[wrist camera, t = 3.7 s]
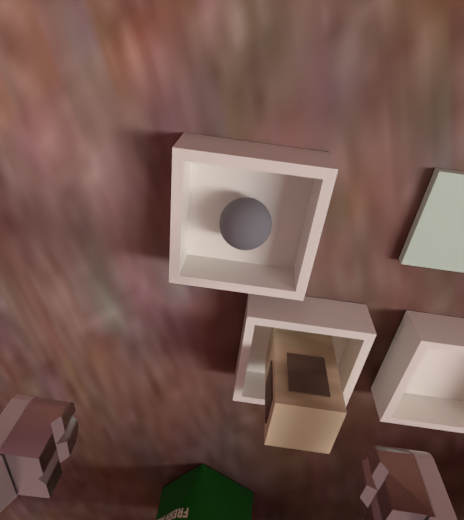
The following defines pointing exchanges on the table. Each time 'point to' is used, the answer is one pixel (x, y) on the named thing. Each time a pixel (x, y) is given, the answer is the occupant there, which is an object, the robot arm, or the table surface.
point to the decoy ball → (245, 223)
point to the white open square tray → (423, 374)
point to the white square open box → (253, 186)
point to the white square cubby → (306, 320)
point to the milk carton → (205, 498)
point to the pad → (438, 225)
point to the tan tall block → (302, 391)
